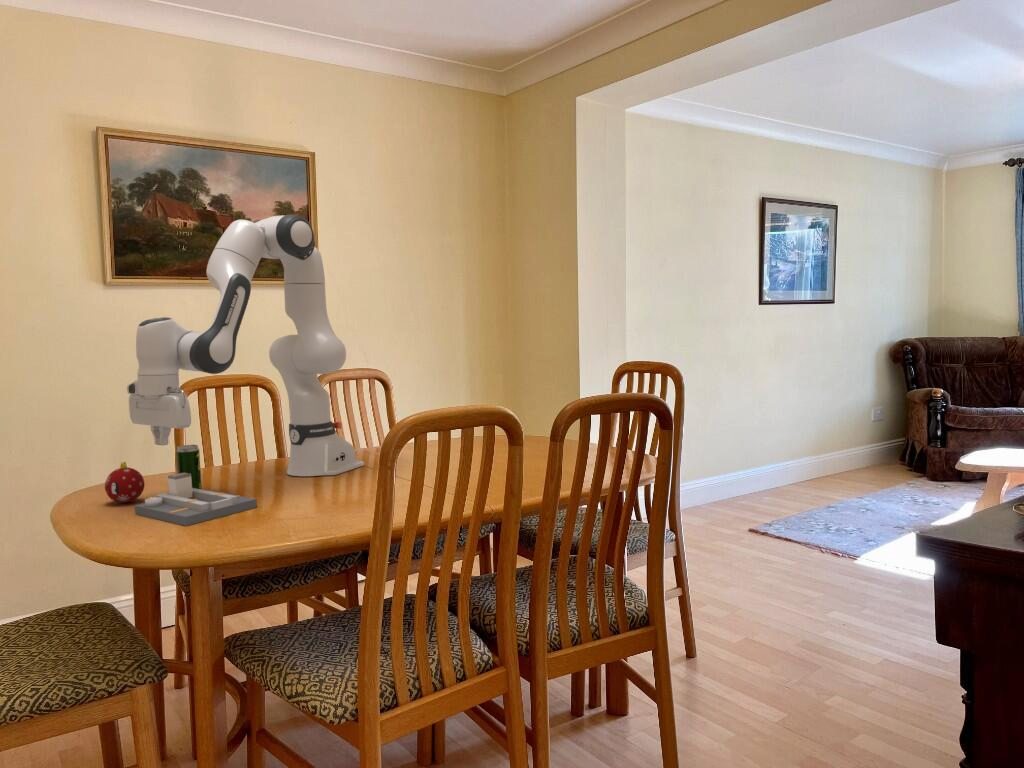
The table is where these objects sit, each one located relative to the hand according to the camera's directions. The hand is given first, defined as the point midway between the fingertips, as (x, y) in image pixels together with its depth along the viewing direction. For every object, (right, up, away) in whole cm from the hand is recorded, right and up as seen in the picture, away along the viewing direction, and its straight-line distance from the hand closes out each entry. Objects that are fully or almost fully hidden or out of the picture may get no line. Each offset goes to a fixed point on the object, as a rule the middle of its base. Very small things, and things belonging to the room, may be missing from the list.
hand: (161, 444), depth 180 cm
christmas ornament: (-11, -15, +5) cm, 19 cm away
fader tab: (+5, -12, -2) cm, 14 cm away
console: (+10, -15, -5) cm, 19 cm away
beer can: (+1, -14, +13) cm, 19 cm away
